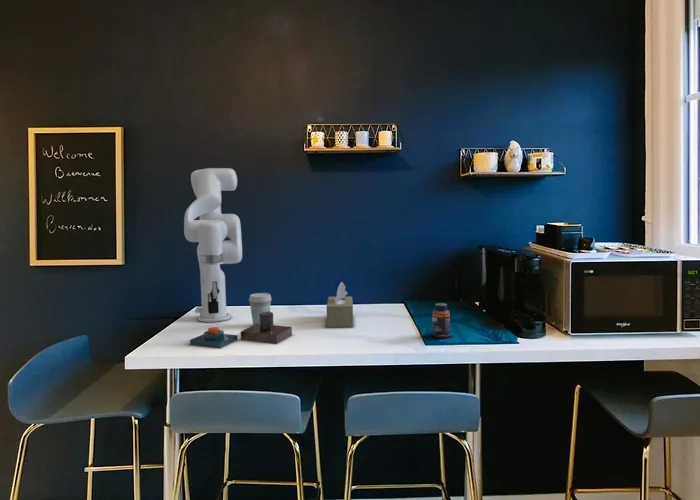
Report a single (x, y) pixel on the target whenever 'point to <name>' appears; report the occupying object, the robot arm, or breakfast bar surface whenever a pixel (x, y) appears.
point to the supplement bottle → (441, 320)
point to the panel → (266, 334)
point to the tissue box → (340, 309)
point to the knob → (266, 321)
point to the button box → (213, 339)
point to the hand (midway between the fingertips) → (213, 312)
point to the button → (213, 330)
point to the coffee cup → (259, 305)
